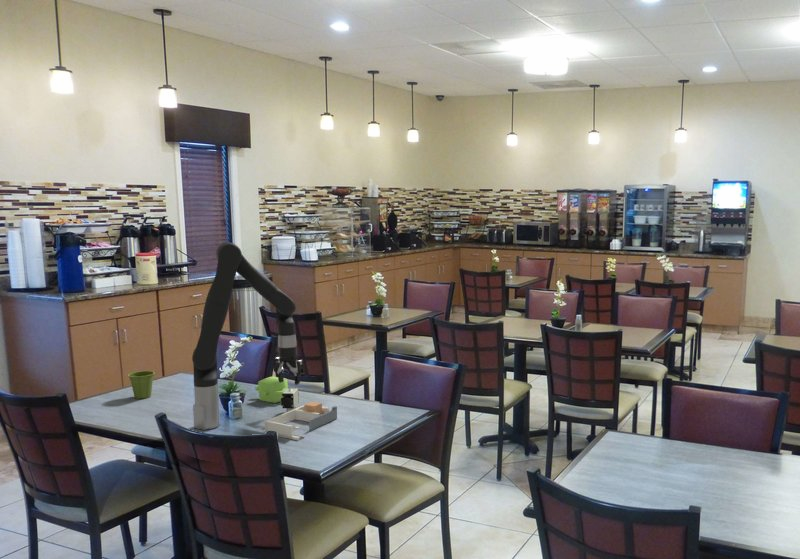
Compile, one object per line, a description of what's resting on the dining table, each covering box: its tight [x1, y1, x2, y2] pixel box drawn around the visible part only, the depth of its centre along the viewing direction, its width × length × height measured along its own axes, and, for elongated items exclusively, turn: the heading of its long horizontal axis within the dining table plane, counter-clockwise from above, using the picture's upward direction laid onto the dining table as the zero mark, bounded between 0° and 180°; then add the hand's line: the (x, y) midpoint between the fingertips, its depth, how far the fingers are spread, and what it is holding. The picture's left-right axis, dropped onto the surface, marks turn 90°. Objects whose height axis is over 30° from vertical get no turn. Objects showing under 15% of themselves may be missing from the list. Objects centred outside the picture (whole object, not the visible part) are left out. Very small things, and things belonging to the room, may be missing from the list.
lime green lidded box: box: [255, 376, 289, 403], centre depth 312 cm, size 18×10×10 cm, turn 55°
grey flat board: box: [308, 405, 338, 431], centre depth 272 cm, size 17×1×5 cm, turn 149°
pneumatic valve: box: [280, 387, 300, 412], centre depth 287 cm, size 6×12×12 cm, turn 174°
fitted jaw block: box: [304, 401, 323, 415], centre depth 280 cm, size 5×5×6 cm
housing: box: [264, 404, 330, 441], centre depth 273 cm, size 26×16×5 cm, turn 149°
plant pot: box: [127, 370, 156, 400], centre depth 321 cm, size 12×12×11 cm
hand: (289, 383), depth 286 cm, fingers open, 8 cm apart
